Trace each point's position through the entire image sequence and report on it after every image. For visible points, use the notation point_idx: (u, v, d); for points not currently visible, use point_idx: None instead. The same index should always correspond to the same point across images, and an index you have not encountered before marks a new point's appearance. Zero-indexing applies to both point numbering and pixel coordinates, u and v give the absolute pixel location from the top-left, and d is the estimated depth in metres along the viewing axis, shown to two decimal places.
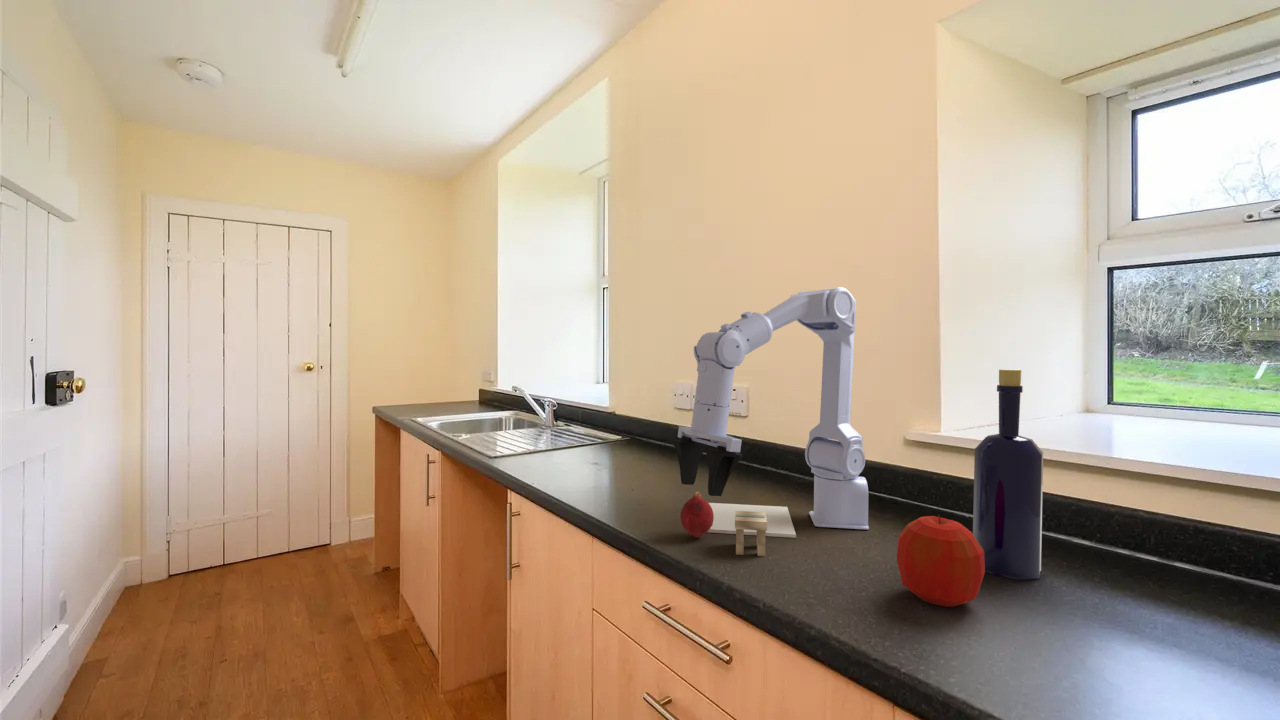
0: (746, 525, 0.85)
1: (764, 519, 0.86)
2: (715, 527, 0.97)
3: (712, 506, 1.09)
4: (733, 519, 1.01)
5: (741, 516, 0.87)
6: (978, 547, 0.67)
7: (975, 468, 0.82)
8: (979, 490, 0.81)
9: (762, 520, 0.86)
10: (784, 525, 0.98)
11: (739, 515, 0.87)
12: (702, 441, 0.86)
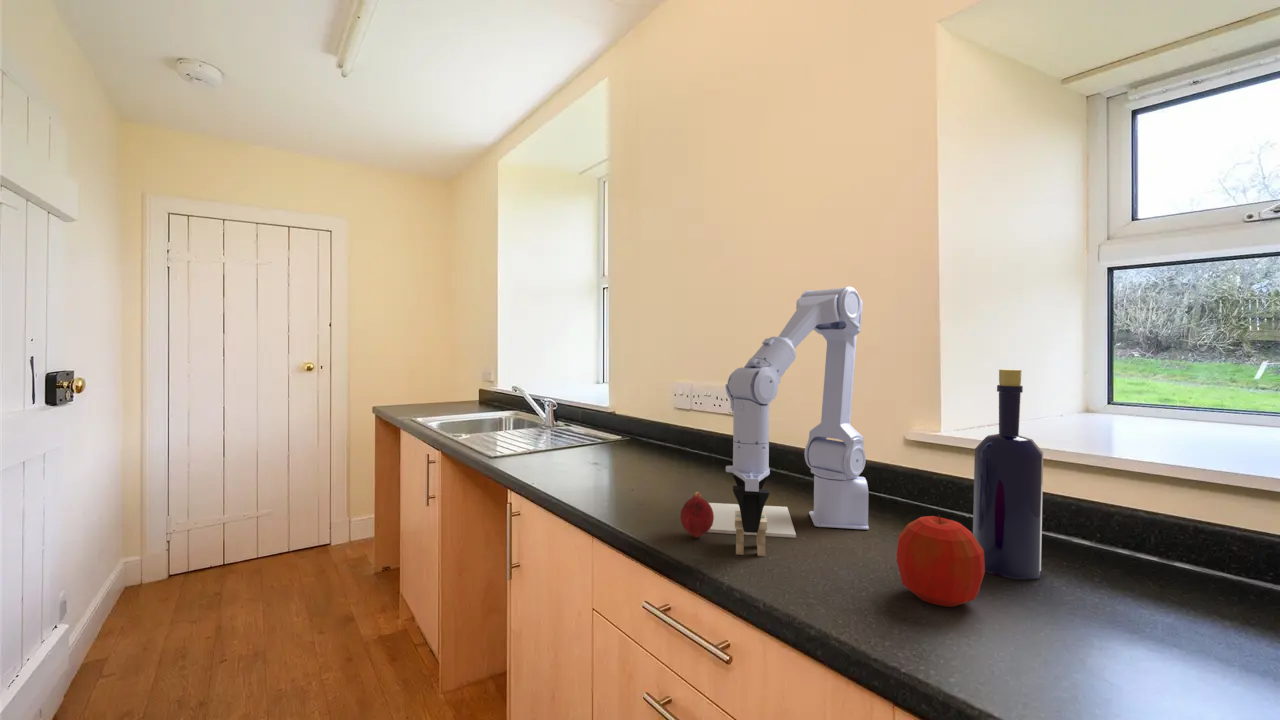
0: None
1: (764, 519, 0.86)
2: (715, 527, 0.97)
3: (712, 506, 1.09)
4: (733, 519, 1.01)
5: None
6: (978, 547, 0.67)
7: (975, 468, 0.82)
8: (979, 490, 0.81)
9: (762, 520, 0.86)
10: (784, 525, 0.98)
11: (739, 515, 0.87)
12: None
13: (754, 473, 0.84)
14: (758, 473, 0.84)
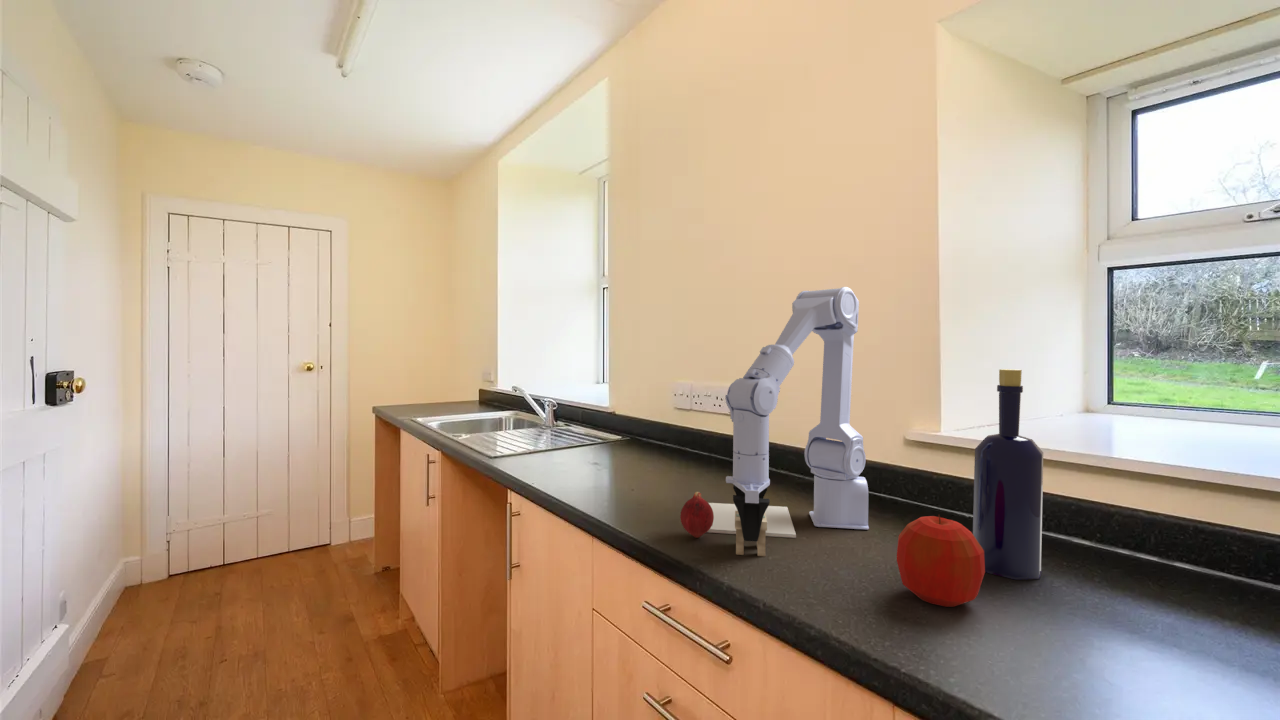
0: None
1: (764, 519, 0.86)
2: (715, 527, 0.97)
3: (712, 506, 1.09)
4: (733, 519, 1.01)
5: None
6: (978, 547, 0.67)
7: (975, 468, 0.82)
8: (979, 490, 0.81)
9: (762, 520, 0.86)
10: (784, 525, 0.98)
11: None
12: None
13: (754, 484, 0.84)
14: (758, 484, 0.84)
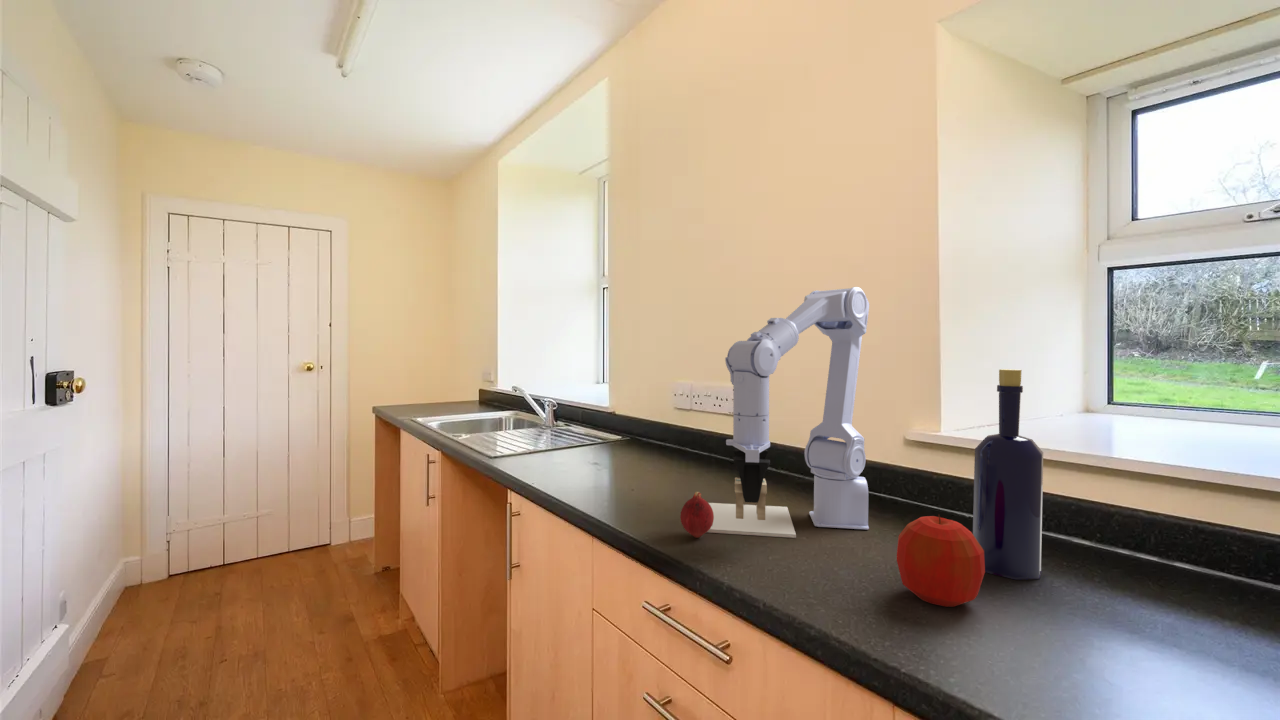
0: None
1: (764, 483, 0.86)
2: (715, 527, 0.97)
3: (712, 506, 1.09)
4: (733, 519, 1.01)
5: None
6: (978, 547, 0.67)
7: (975, 468, 0.82)
8: (979, 490, 0.81)
9: (762, 483, 0.85)
10: (784, 525, 0.98)
11: (738, 480, 0.87)
12: None
13: (754, 445, 0.84)
14: (758, 445, 0.84)
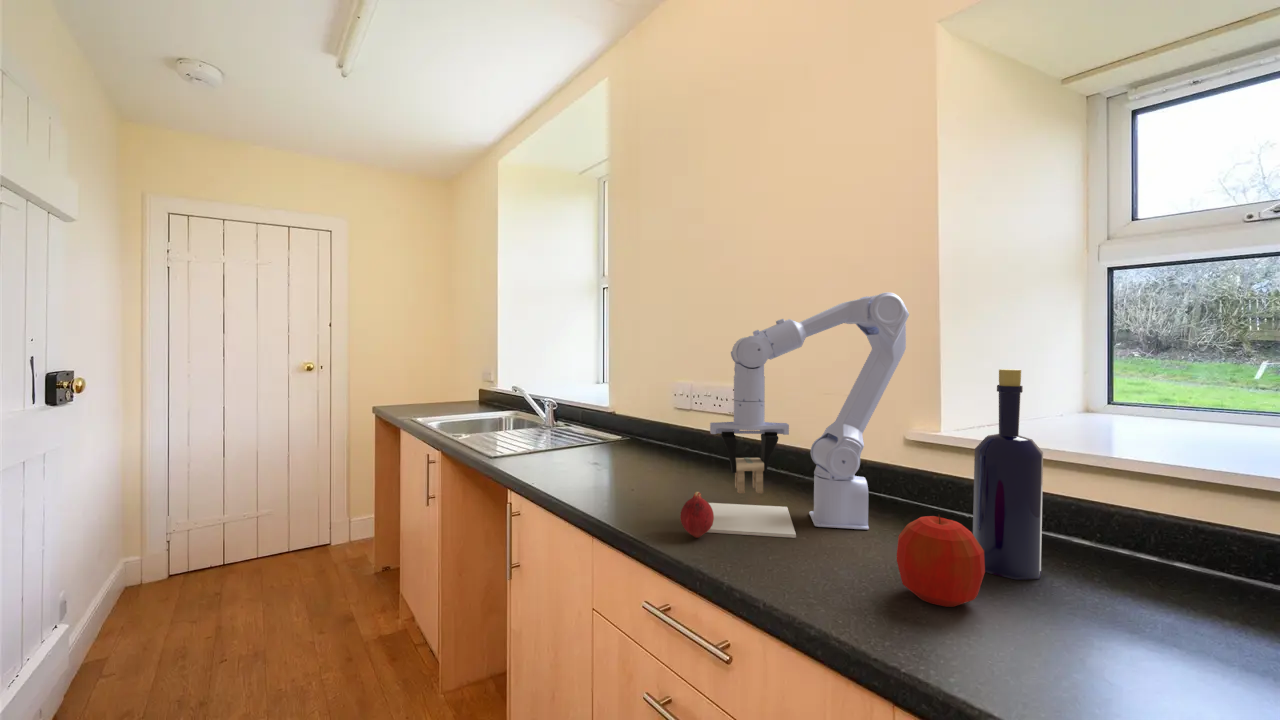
0: None
1: (743, 463, 0.99)
2: (715, 527, 0.97)
3: (712, 506, 1.09)
4: (733, 519, 1.01)
5: (745, 459, 1.03)
6: (978, 547, 0.67)
7: (975, 468, 0.82)
8: (979, 490, 0.81)
9: (740, 462, 1.00)
10: (784, 525, 0.98)
11: (745, 458, 1.03)
12: None
13: (733, 424, 1.01)
14: (734, 425, 1.00)
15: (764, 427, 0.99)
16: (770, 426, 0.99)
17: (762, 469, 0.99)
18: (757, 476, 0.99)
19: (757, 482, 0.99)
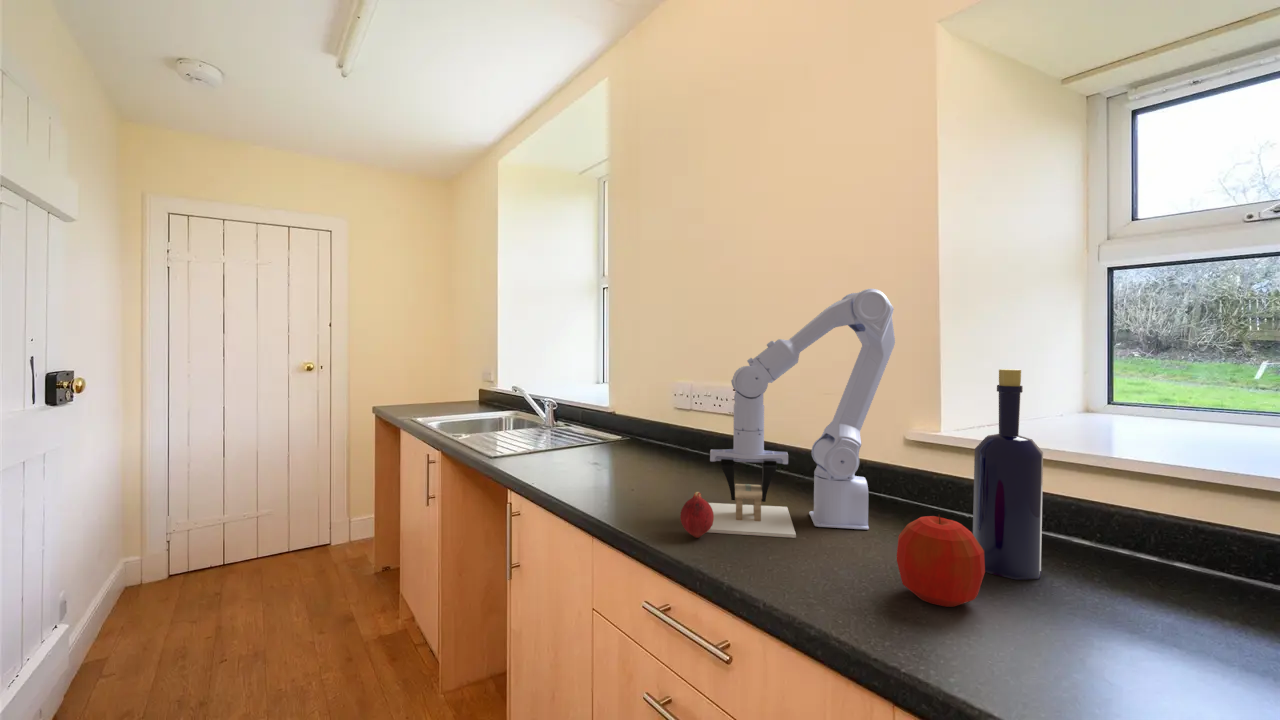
0: None
1: (741, 490, 1.01)
2: (715, 527, 0.97)
3: (712, 506, 1.09)
4: (733, 519, 1.01)
5: (746, 485, 1.04)
6: (978, 547, 0.67)
7: (975, 468, 0.82)
8: (979, 490, 0.81)
9: (739, 490, 1.01)
10: (784, 525, 0.98)
11: (746, 484, 1.04)
12: None
13: (732, 452, 1.02)
14: (733, 453, 1.01)
15: (762, 457, 0.99)
16: (768, 455, 1.00)
17: (760, 497, 1.00)
18: (755, 504, 1.00)
19: (755, 510, 1.00)
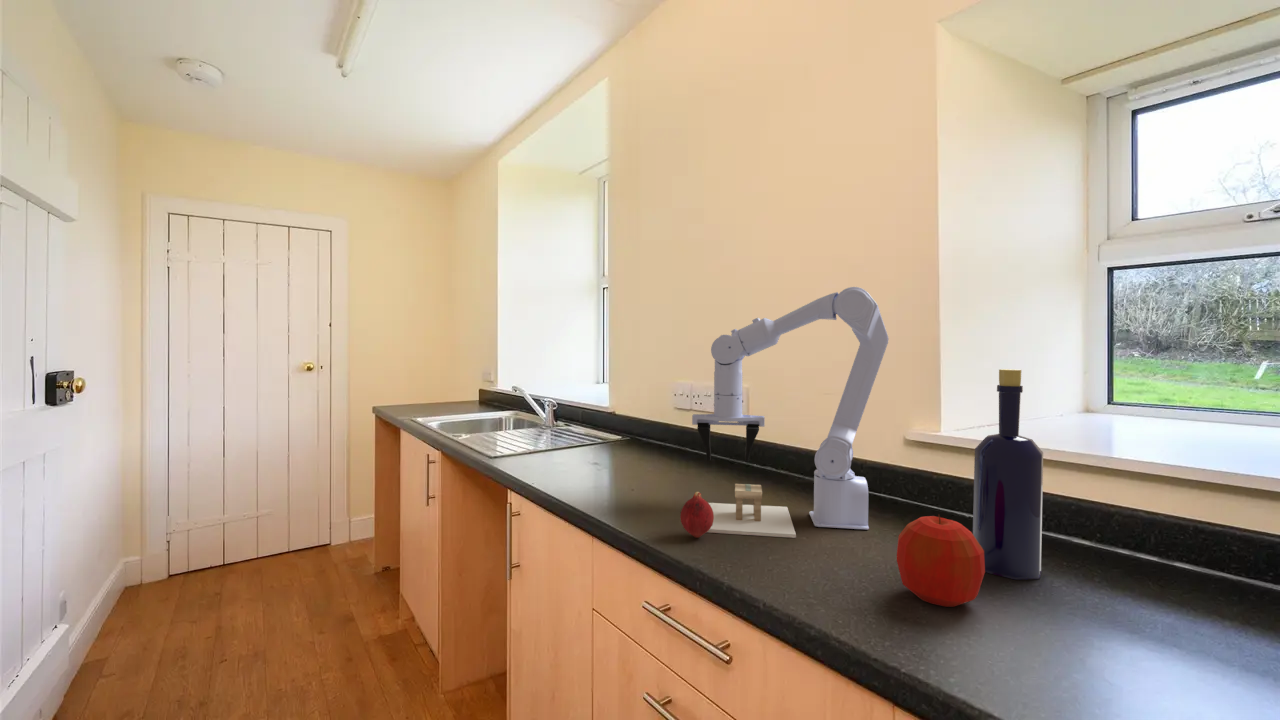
0: None
1: (741, 490, 1.01)
2: (715, 527, 0.97)
3: (712, 506, 1.09)
4: (733, 519, 1.01)
5: (746, 485, 1.04)
6: (978, 547, 0.67)
7: (975, 468, 0.82)
8: (979, 490, 0.81)
9: (739, 490, 1.01)
10: (784, 525, 0.98)
11: (746, 484, 1.04)
12: None
13: (713, 416, 1.09)
14: (713, 417, 1.09)
15: (740, 419, 1.07)
16: (746, 418, 1.07)
17: (760, 497, 1.00)
18: (755, 504, 1.00)
19: (755, 510, 1.00)
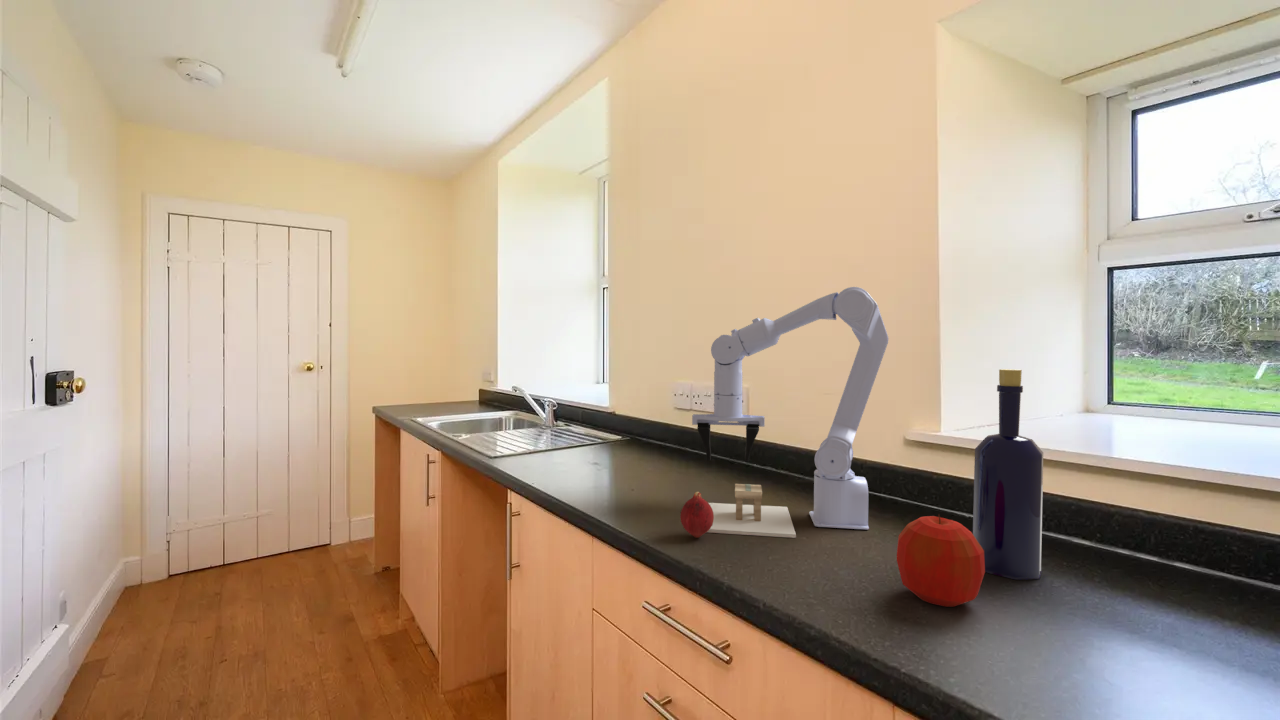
0: None
1: (741, 490, 1.01)
2: (715, 527, 0.97)
3: (712, 506, 1.09)
4: (733, 519, 1.01)
5: (746, 485, 1.04)
6: (978, 547, 0.67)
7: (975, 468, 0.82)
8: (979, 490, 0.81)
9: (739, 490, 1.01)
10: (784, 525, 0.98)
11: (746, 484, 1.04)
12: None
13: (713, 416, 1.09)
14: (713, 417, 1.09)
15: (740, 419, 1.07)
16: (746, 418, 1.07)
17: (760, 497, 1.00)
18: (755, 504, 1.00)
19: (755, 510, 1.00)
